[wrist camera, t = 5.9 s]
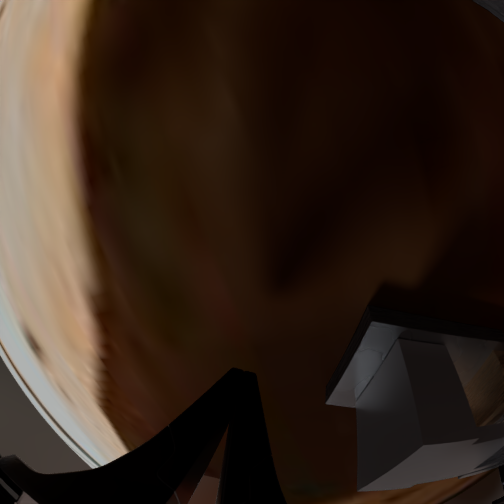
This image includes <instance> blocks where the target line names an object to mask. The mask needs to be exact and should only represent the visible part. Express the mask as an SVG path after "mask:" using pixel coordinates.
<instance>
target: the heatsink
mask: <svg viewBox="0 0 504 504" xmlns="http://www.w3.org/2000/svg"><path fill="white" fill-rule="evenodd" d="M464 391H465V394H466V397H467V399H468V402H469V405H470V408H471V411H472V414H473V417H474V420H475V424H476V427H480V426H486V425H491V424H494V423H495V422H496V421H497V420H498V419H499V418H500V417H501V416H502V415H503V414H504V351H497V350H493V351H492V352H491V354H490V355H489V357H488V358H487V359H486V361H485V362H484V363H483V365H482V366H481V367H480V369H479V370H478V371H477V373H476V374H475V375H474V377H473V378H472V379H471V380H470V381H469V383H468V384H467V385H466V386H465V388H464ZM502 465H504V446H503V447H502V448H501V449H499V450H498V451H497V452H496V453H494V454H493V455H492V456H491V457H489V458H488V459H487V460H485V461H484V462H483V463H481V464H480V465H479V466H477V467H476V468H474V469H473V470H472V471H470V472H469V473H467V474H465V475H461V476H458V479H460V478H464V477H468V476H471V475H475V474H478V473H481V472H485V471H488V470H491V469H493V468H496V467H499V466H502Z"/></svg>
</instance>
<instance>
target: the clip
mask: <svg viewBox="0 0 504 504" xmlns="http://www.w3.org/2000/svg"><path fill="white" fill-rule="evenodd" d="M356 414H357V445H358V472H357V491H378V490H392V489H402V488H410V487H412V486H413V485H415V484H420V483H427V482H433V481H438V480H443V479H448V478H452V477H457V476H461V475H465V474H467V473H469V472H470V471H472V470H473V469H474V468H476V467H477V466H479V465H480V464H481V463H483V462H484V461H485V460H487V459H488V458H489V457H491V456H492V455H493V454H494V453H496V452H497V451H498V450H499V449H501V448H502V447H503V446H504V422H502V423H497V424H491V425H486V426H480V427H476V424H475V420H474V417H473V414H472V411H471V408H470V405H469V402H468V399H467V397H466V394H465V391H464V388H463V386H462V383H461V381H460V378H459V376H458V373H457V371H456V368H455V366H454V363H453V361H452V359H451V356H450V354H449V352H448V350H447V348H446V346H445V345H438V344H431V343H424V342H417V341H410V340H404V339H397V341H396V342H395V344H394V346H393V347H392V349H391V351H390V352H389V354H388V356H387V357H386V359H385V360H384V362H383V364H382V365H381V367H380V368H379V370H378V371H377V373H376V374H375V376H374V377H373V379H372V380H371V382H370V383H369V385H368V386H367V388H366V389H365V390H364V392H363V393H362V395H361V396H360V397H359V399H358V400H357V401H356Z"/></svg>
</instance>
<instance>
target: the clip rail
mask: <svg viewBox="0 0 504 504" xmlns="http://www.w3.org/2000/svg"><path fill="white" fill-rule="evenodd" d="M397 339H404V340H410V341H417V342H424V343H431V344H438V345H445V346H446V348H447V350H448V352H449V354H450V356H451V359H452V361H453V363H454V366H455V368H456V371H457V373H458V376H459V378H460V381H461V383H462V386H463V388H465V386H466V385H467V384H468V383H469V381H470V380H471V379H472V378H473V377H474V375H475V374H476V373H477V371H478V370H479V369H480V367H481V366H482V365H483V363H484V362H485V361H486V359H487V358H488V357H489V355H490V354H491V352H492V351H493V350H497V351H504V333H503V332H502V330H497V329H491V328H485V327H479V326H473V325H468V324H462V323H457V322H451V321H446V320H440V319H435V318H430V317H425V316H420V315H414V314H409V313H404V312H399V311H395V310H390V309H385V308H380V307H375V306H370V305H368V306H367V308H366V310H365V313H364V315H363V317H362V319H361V321H360V323H359V326H358V328H357V330H356V332H355V334H354V336H353V338H352V340H351V342H350V344H349V346H348V348H347V350H346V352H345V354H344V356H343V358H342V359H341V361H340V363H339V365H338V367H337V369H336V371H335V372H334V374H333V376H332V378H331V379H330V381H329V383H328V385H327V386H326V400H325V404H330V405H337V406H345V407H354V408H356V401H357V400H358V399H359V397H360V396H361V395H362V393H363V392H364V390H365V389H366V388H367V386H368V385H369V383H370V382H371V380H372V379H373V377H374V376H375V374H376V373H377V371H378V370H379V368H380V367H381V365H382V364H383V362H384V360H385V359H386V357H387V356H388V354H389V352H390V351H391V349H392V347H393V346H394V344H395V342H396V341H397Z"/></svg>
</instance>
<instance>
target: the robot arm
mask: <svg viewBox="0 0 504 504" xmlns="http://www.w3.org/2000/svg"><path fill="white" fill-rule="evenodd" d="M229 422H230V423H229ZM228 424H229V427H228ZM168 426H169V427H168ZM168 426H166V427H165V428H164V429H163V430H161V431H160V432H159V433H158V434H156V435H155V436H154V437H152V438H151V439H150V440H148V441H147V442H145V443H144V444H142V445H140V446H139V447H137V448H136V449H134V450H132V451H130V452H128V453H127V454H125V455H123V456H121V457H119V458H118V459H116V460H114V461H112V462H110V463H108V464H106V465H104V466H101V467H98V468H94V469H90V470H83V471H75V472H66V473H54V474H42V473H38V472H37V471H36V470H34V469H33V468H32V467H30V466H29V465H28V464H27V463H25V462H24V461H23V460H22V459H21V458H19V457H18V456H16V455H9V456H5V457H2V456H1V454H0V504H188V502H189V501H190V499H191V497H192V495H193V493H194V491H195V490H196V488H197V486H198V483H199V482H200V480H201V478H202V477H203V475H204V473H205V471H206V469H207V467H208V465H209V463H210V461H211V459H212V457H213V455H214V453H215V451H216V449H217V447H218V445H219V443H220V441H221V439H222V437H223V435H224V433H225V431H226V429H227V427H228V433H227V439H226V445H225V451H224V457H223V463H222V469H221V475H220V481H219V487H218V493H217V499H216V504H287V503H286V501H285V498H284V496H283V493H282V491H281V488H280V485H279V482H278V479H277V475H276V471H275V467H274V462H273V458H272V456H271V455H272V453H271V448H270V443H269V438H268V433H267V428H266V423H265V418H264V413H263V408H262V402H261V397H260V392H259V387H258V381H257V376H256V374H255V373H253V372H249V371H243V370H241V369H238V368H231V369H230V370H229V371H228V372H227V373H226V374H225V375H224V376H223V377H222V378H221V379H219V380H218V381H217V382H216V383H215V384H214V385H213V386H212V387H211V388H210V389H209V390H208V391H206V392H205V393H204V394H203V395H202V396H201V397H200V398H199V399H198V400H196V401H195V402H194V403H193V404H192V405H191V406H190V407H189V408H187V409H186V410H185V411H184V412H183V413H182V414H180V415H179V416H178V417H177V418H176V419H175V420H173V421H172V422H171V423H170V424H169V425H168ZM498 469H499V473H500V478H501V483H502V485H503V490H504V465H502V466H499V467H498ZM492 504H504V496H503V497H501V498H499V499H497V500H495V501H493V502H492Z"/></svg>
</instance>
